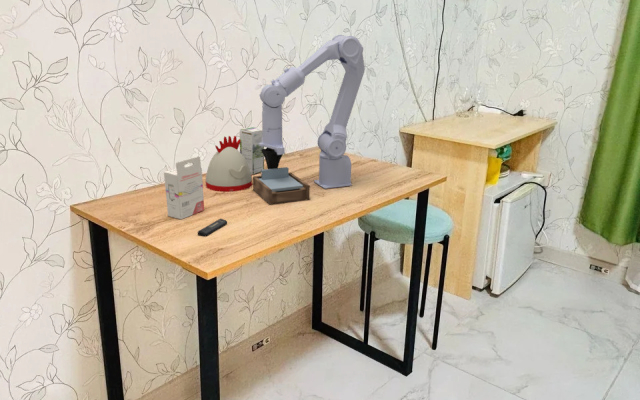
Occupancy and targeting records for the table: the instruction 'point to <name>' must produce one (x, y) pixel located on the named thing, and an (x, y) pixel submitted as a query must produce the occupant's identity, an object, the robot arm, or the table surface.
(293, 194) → the box
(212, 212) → the table surface
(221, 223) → the usb stick
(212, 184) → the kitchen timer
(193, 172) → the ink cartridge box
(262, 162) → the syrup box
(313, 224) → the table surface
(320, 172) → the robot arm
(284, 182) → the lid
